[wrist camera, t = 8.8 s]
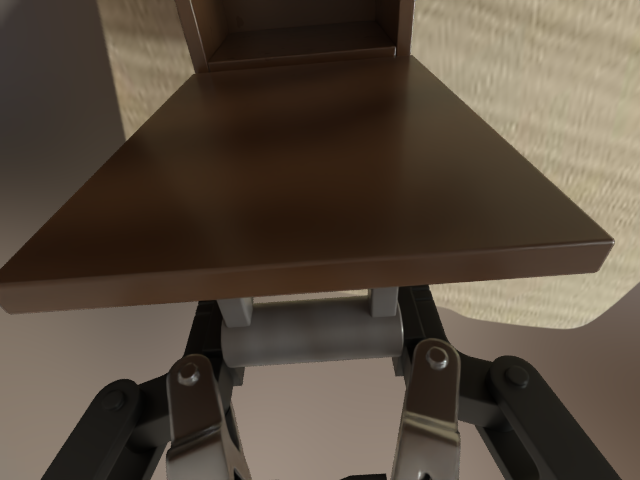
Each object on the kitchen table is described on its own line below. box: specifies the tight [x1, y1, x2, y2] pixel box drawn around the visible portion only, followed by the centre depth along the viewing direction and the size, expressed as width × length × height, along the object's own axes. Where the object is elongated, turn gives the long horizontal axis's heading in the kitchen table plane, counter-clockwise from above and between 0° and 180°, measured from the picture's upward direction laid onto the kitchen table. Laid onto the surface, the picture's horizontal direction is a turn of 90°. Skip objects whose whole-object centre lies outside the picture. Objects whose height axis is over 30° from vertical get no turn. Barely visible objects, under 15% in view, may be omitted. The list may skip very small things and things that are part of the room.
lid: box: [0, 55, 615, 368], centre depth 14 cm, size 15×11×5 cm
